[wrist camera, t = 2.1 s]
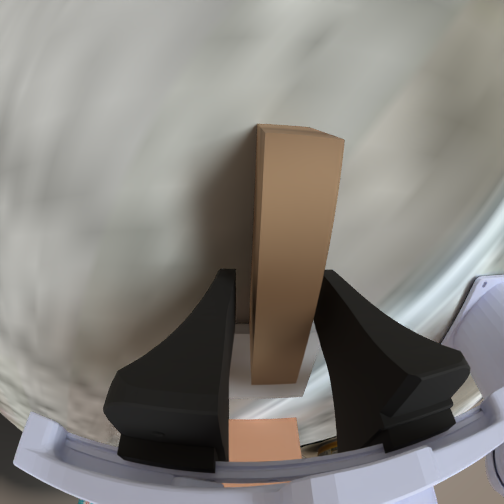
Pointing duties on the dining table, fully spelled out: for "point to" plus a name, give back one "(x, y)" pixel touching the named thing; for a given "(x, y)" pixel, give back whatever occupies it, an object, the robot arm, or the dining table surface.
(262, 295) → the tall wooden plank
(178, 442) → the robot arm
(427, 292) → the dining table surface
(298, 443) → the tile
